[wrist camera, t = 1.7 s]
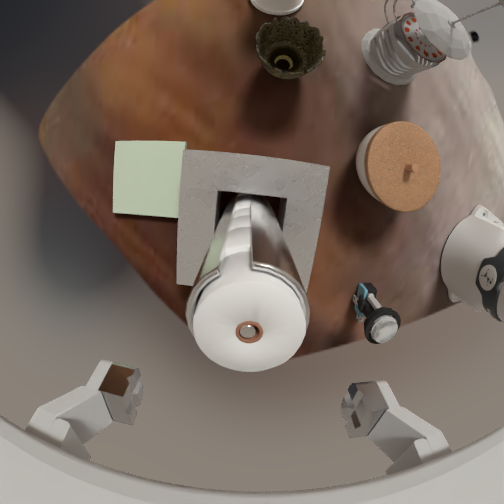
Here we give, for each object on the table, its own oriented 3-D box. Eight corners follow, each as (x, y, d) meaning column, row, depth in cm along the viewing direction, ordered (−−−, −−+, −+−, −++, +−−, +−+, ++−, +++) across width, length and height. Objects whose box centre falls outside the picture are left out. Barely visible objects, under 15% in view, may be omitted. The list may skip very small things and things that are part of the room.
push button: (370, 315, 42) (394, 353, 33) (341, 317, 42) (361, 357, 33) (378, 279, 40) (408, 313, 31) (348, 281, 40) (373, 316, 30)
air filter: (280, 201, 36) (337, 294, 12) (263, 245, 38) (283, 387, 14) (233, 184, 35) (199, 251, 11) (218, 230, 37) (171, 359, 14)
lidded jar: (343, 122, 32) (372, 114, 23) (409, 129, 32) (448, 128, 23) (344, 200, 36) (372, 215, 27) (408, 201, 36) (445, 216, 27)
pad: (187, 142, 33) (185, 141, 32) (181, 216, 36) (179, 218, 35) (118, 141, 32) (115, 141, 31) (116, 211, 36) (113, 212, 35)
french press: (381, 92, 30) (518, 52, 7) (342, 24, 27) (431, -72, 3) (427, 78, 29) (553, 53, 5) (392, 16, 25) (490, -50, 2)
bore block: (317, 164, 34) (329, 166, 28) (297, 276, 39) (305, 297, 34) (193, 150, 33) (183, 149, 28) (186, 265, 39) (176, 283, 33)
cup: (312, 91, 31) (328, 75, 23) (255, 89, 31) (257, 72, 23) (308, 43, 28) (323, 19, 21) (253, 41, 28) (254, 15, 21)
